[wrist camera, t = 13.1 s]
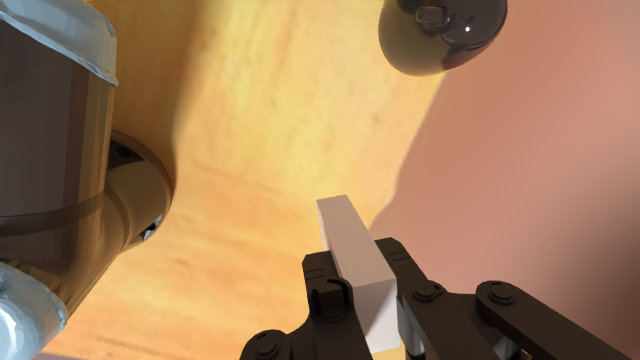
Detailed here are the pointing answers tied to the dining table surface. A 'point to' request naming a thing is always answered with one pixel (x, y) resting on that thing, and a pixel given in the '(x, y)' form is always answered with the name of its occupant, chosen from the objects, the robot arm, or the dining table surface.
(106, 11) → the dining table surface
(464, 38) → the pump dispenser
